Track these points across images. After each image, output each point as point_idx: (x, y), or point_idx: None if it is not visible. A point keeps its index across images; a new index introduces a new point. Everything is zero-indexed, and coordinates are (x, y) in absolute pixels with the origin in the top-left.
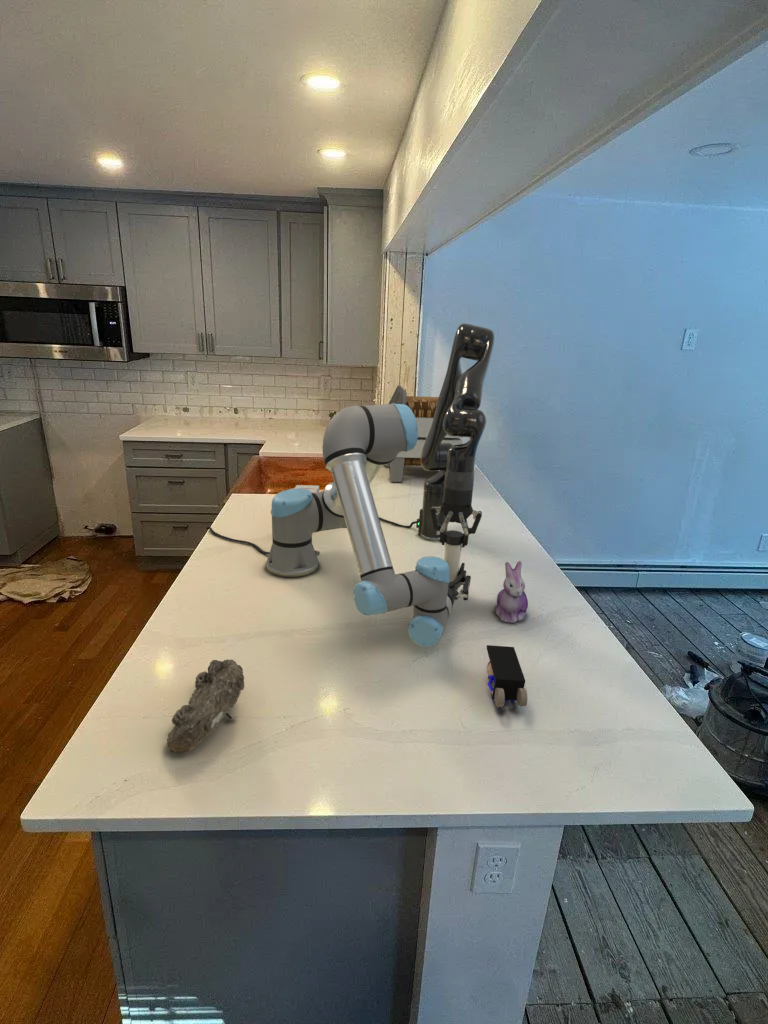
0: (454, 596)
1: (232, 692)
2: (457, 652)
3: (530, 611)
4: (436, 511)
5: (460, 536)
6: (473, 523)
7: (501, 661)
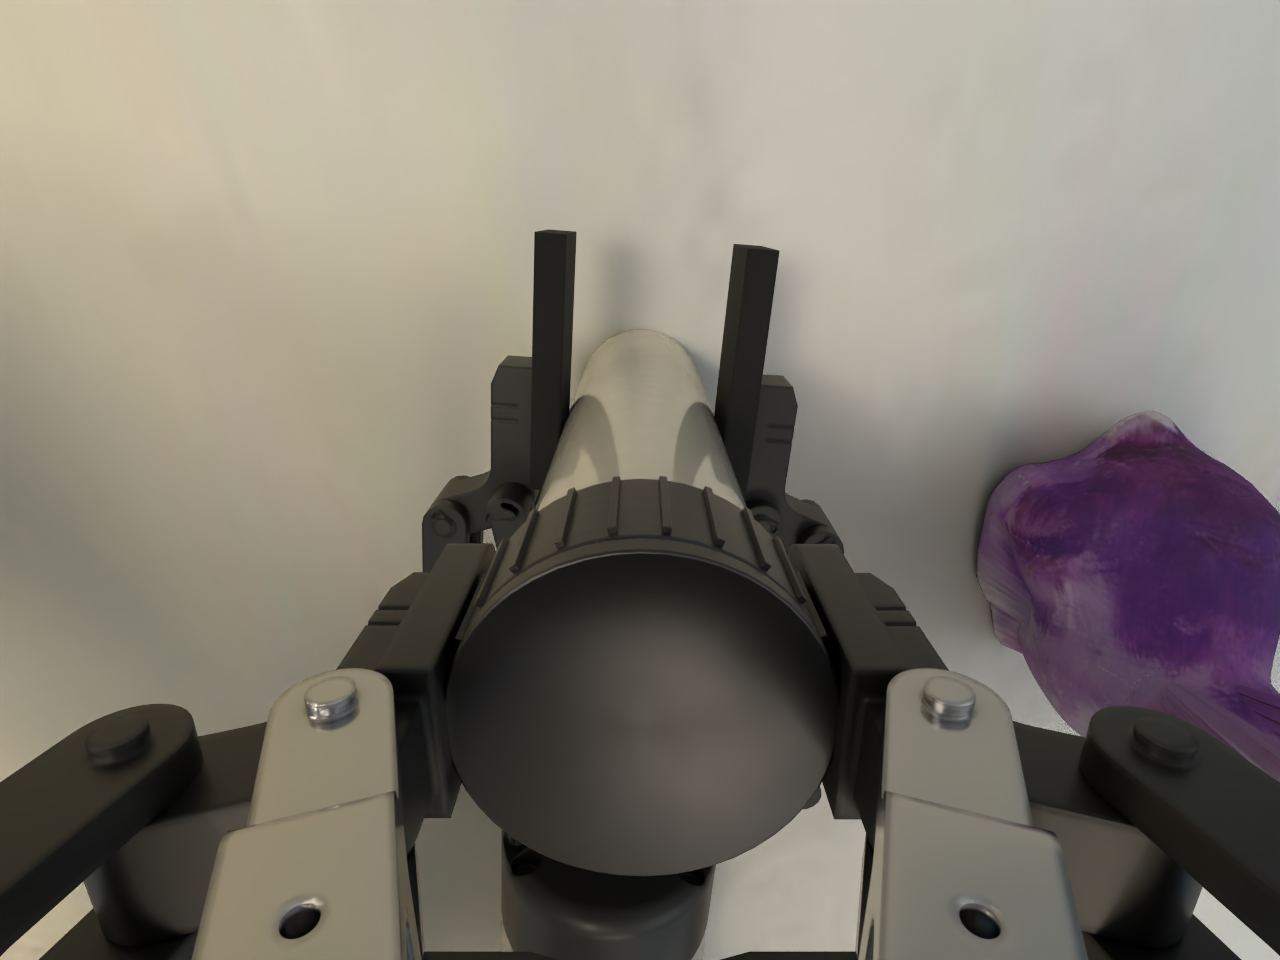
0: (714, 869)
1: None
2: (744, 932)
3: (1226, 464)
4: None
5: (777, 818)
6: (1263, 905)
7: None
